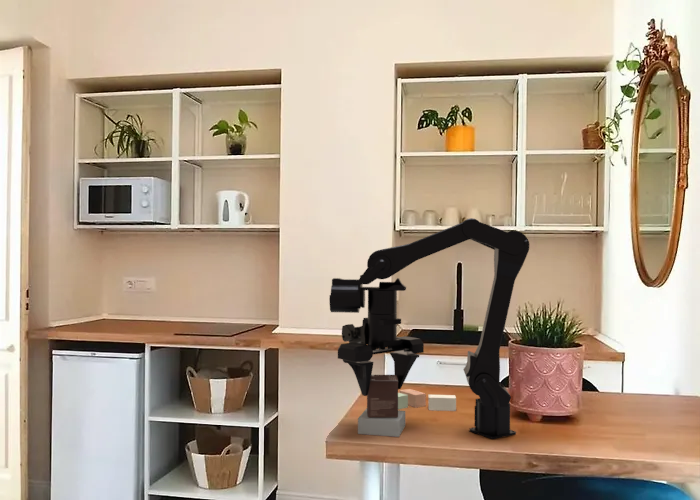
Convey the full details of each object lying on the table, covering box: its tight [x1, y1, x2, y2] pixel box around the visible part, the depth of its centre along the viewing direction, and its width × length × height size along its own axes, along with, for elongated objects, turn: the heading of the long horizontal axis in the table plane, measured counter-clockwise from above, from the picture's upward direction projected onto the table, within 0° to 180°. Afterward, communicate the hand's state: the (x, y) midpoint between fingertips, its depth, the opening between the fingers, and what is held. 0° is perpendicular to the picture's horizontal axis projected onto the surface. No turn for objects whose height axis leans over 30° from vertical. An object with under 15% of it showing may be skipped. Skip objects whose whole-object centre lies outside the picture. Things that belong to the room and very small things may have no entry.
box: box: [366, 374, 399, 418], centre depth 124 cm, size 6×6×7 cm
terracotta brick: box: [398, 388, 427, 408], centre depth 146 cm, size 6×3×3 cm, turn 33°
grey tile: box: [357, 408, 406, 438], centre depth 124 cm, size 8×8×3 cm
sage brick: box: [398, 392, 409, 410], centre depth 142 cm, size 6×3×3 cm, turn 130°
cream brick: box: [427, 394, 457, 412], centre depth 141 cm, size 6×3×3 cm, turn 84°
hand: (381, 392), depth 124 cm, fingers open, 9 cm apart
